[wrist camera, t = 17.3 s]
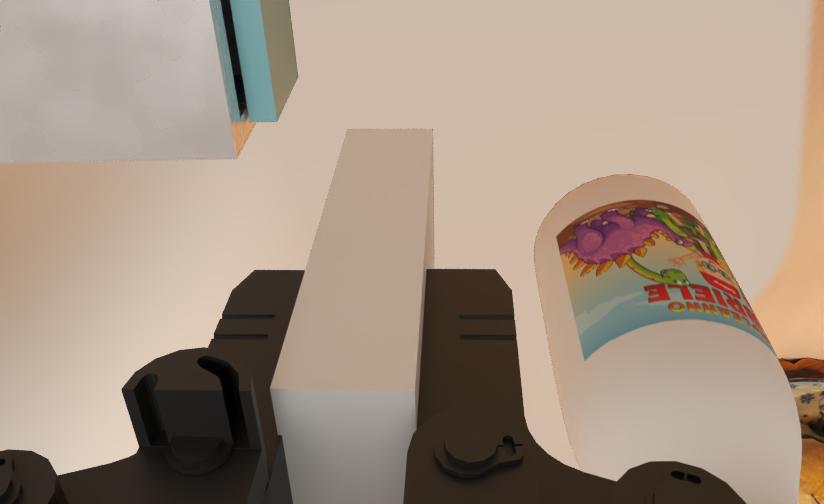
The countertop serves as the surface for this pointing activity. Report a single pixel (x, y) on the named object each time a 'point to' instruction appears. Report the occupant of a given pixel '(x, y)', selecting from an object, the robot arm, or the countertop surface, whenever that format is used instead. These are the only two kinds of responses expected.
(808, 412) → the burger
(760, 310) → the countertop surface
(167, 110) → the box
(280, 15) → the tray
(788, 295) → the countertop surface
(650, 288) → the milk bottle
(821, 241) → the countertop surface
